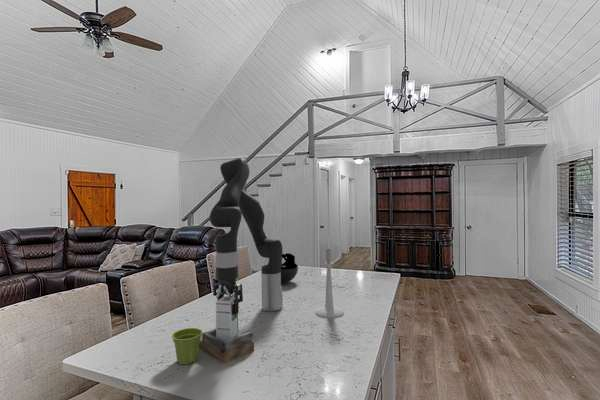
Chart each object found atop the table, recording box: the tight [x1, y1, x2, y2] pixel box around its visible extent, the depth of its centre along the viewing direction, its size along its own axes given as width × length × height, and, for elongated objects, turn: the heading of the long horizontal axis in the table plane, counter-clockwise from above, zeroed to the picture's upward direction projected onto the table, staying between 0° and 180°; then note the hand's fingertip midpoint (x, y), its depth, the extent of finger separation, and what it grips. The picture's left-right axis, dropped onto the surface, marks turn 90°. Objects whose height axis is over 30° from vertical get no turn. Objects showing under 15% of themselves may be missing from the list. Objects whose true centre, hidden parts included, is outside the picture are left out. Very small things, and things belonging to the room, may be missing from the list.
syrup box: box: [215, 295, 239, 341], centre depth 109 cm, size 6×6×14 cm
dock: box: [198, 328, 255, 364], centre depth 111 cm, size 12×20×6 cm, turn 47°
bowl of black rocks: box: [281, 253, 299, 284], centre depth 200 cm, size 20×20×19 cm
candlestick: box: [314, 247, 344, 319], centre depth 144 cm, size 13×13×30 cm
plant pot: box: [171, 327, 203, 365], centre depth 102 cm, size 9×9×9 cm
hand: (227, 311), depth 109 cm, fingers open, 8 cm apart
